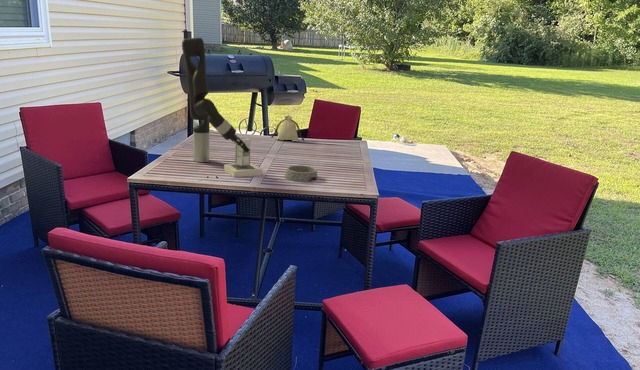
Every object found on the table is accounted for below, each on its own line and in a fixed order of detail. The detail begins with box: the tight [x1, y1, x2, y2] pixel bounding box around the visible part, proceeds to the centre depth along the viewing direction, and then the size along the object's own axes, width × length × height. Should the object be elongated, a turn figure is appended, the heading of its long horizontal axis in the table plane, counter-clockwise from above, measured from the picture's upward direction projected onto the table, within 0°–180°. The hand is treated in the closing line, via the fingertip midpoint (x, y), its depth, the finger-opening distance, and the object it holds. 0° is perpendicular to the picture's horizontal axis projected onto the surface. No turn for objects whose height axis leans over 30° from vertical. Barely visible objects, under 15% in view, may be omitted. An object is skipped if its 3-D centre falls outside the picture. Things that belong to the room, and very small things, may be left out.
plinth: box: [223, 162, 263, 178], centre depth 269 cm, size 16×16×3 cm
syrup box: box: [234, 137, 252, 166], centre depth 266 cm, size 6×6×14 cm
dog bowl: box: [284, 164, 319, 183], centre depth 266 cm, size 17×18×5 cm
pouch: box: [270, 114, 305, 142], centre depth 362 cm, size 25×8×19 cm, turn 91°
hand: (245, 149), depth 267 cm, fingers closed on syrup box, 7 cm apart
